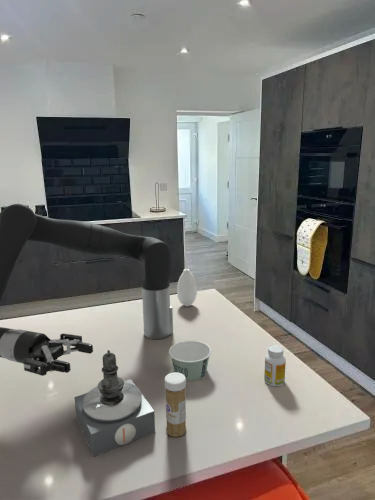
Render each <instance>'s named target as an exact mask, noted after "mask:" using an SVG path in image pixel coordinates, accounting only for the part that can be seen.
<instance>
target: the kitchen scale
mask: <svg viewBox="0 0 375 500" xmlns="http://www.w3.org/2000/svg"><path fill="white" fill-rule="evenodd" d="M124 382H128V383H131V384H134V385H135V386H136V384H135V383H134V381H133V380H132V379H128V380H124ZM87 393H88V392H87ZM87 393H83V394H81V395H77V396H74V397H73V399H74V408H75V417H76V420H77V423H78V425H79V426H80V429H81V431H82V434H83V436H84V438H85V441H86V443H87V445H88V448H89V450H90V452H91V455H92V457H95V456H98V455H101V454H104V453H106V452H109V451H111V450H113V449H115V448H116V449H117V448H118V447H120V446H123V445H127V444H129V443H131V442H133V441H136V440H139V439H141V438H142V437H143V438H144V437H146V436H149V435H151V434H153V433H155V432H156V424H155V423H156V420H155V418H156V417H155V410H154V409H153V407H152V406H151V404H150V403H149V402H148V400H147V399H146V398H145V396H144V394H142V403H141V406H140V408H139V409H138V410H137V412H135V413H134V414H133V415H131V416H130V417H128V418H126V419H124V420H121V421H117V422H110V423H103V422H97V421H94V420H92V419H90V418H88V417H87V416H86V415H85V413H84V410H83V400H84V397H85V396H86V394H87Z"/></svg>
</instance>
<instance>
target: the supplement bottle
mask: <svg viewBox="0 0 375 500" xmlns="http://www.w3.org/2000/svg"><path fill="white" fill-rule="evenodd" d="M263 375H264V376H263V377H264V382H265V384H267V385H269V386H271V387H281V386H283V385H284V384H285V381H286V380H285V379H286V356H285V355H284V348H283V347H282V346H280V345H276V344H275V345H270V346H268V348H267V353H266V355H265V357H264V374H263Z"/></svg>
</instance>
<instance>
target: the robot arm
mask: <svg viewBox="0 0 375 500" xmlns="http://www.w3.org/2000/svg"><path fill="white" fill-rule="evenodd" d="M27 241H32V242H38V243H39V242H40V243H45V244H50V245H54V246H57V247H60V248H64V249H67V250H71V251H75V252H79V253H82V254H87V255H93V256H98V257H100V256H101V257H107V256H108V257H110V256H120V257H124V258H129V259H133V260H137V261H139V262H142V263H144V276H143V277H142V279H141V294H142V295H141V297H142V299H141V300H142V314H143V317H142V318H143V334H144V336H145V337H146V338H147V339H151V340H161V339H165V338H168V337H169V336H170V335H171V334H173V333H174V317H173V316H174V315H173V309H174V308H173V307H172V306H171V298H170V297H171V291H170V282H171V279H172V270H173V269H172V267H173V266H172V261H173V258H172V257H173V256H172V250H171V248H170V245H169V244H168V243H166V242H164V241H162V240H160V239H159V238H156V237H151V236H143V235H135V234H128V233H124V232H122V231H119V230H116V229H114V228H111V227H108V226H105V225H100V224H96V223H92V222H88V221H81V220H72V219H57V218H51V217H46V216H43V215H39V214H37V213H35V212H34V210H32V208H31V207H30V206H28V205H26V204H23V203H13V204H10V205H8V206H6V207H4V208H3V210H2V211H1V212H0V307H1V305H2V303H3V300H4V298H5V295H6V293H7V289H8V286H9V283H10V281H11V278H12V275H13V272H14V270H15V269H14V268H15V267H16V264H17V261H18V259H19V257H20V254H21V252H22V251H23V248H24V247H25V244H26V243H27ZM64 346H65V348H66V349H65V348H64ZM72 352H80V353H85V354H92V353H93V352H94V346H93V344H91V343H89V342H83V337H82V335H76V334H68V333H60V334H59V338H58V339H50V337H48V336H47V334H45V333H41V332H35V331H32V330H24V329H14V328H7V327H1V326H0V358H3V359H6V360H8V361H11V362H15V363H19V364H23V371H25V372H28V373H31V374H35V375H38V376H47V374H48V373H49V372H51V373H52V372H60V373H67V374H68V373H70V372H71V363H70V362H69V361H64V360H60V359H59V358H60V357H62V356H67V355H70V354H71V353H72Z"/></svg>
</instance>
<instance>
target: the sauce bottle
mask: <svg viewBox="0 0 375 500" xmlns="http://www.w3.org/2000/svg"><path fill="white" fill-rule="evenodd" d="M196 282H197V281H196V279H195V277H194V275H193V273H192V272H191V269H189V268H188V263H186V264H185V269H183V271H182V273H181V275H180V276H179V279H178V281H177V287H176V294H177V299H178V301H179V303H180V304H182V305H183V306H185V307H190V306H192V304H195V303H194V302H195V301H196V298H197V295H198V287H197V283H196Z"/></svg>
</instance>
